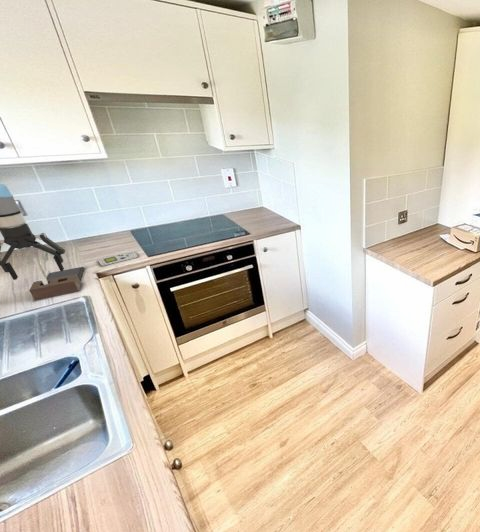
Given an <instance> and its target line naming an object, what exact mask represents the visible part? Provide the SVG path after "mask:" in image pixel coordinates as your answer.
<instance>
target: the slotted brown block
mask: <svg viewBox="0 0 480 532" xmlns="http://www.w3.org/2000/svg"><path fill="white" fill-rule="evenodd" d="M47 281H48V283H49V284H46V285H43V282H42V280H37V281H34V282H33V283H31V286H30V288H29V289H28V291H29V293H30V295H31V296H32V298H33V299H34V301H40V300H44V299H49V298H55V297H58V296H63V295H68V294H72V293H76V292H80V289H81V286H82V282H81V280H79V278H78V276H77V274H73V275H68V276H62V277H57V278H52V279H47Z"/></svg>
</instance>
